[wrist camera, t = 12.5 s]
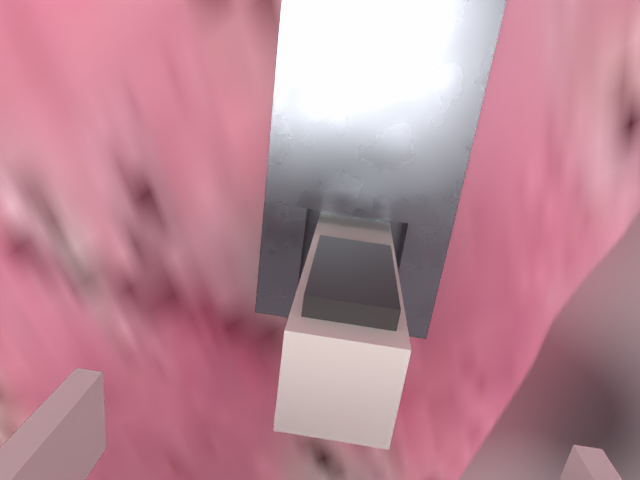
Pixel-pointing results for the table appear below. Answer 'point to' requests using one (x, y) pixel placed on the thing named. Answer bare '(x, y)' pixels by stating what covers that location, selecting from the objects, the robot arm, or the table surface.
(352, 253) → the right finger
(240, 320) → the table surface
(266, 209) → the grey and white block
